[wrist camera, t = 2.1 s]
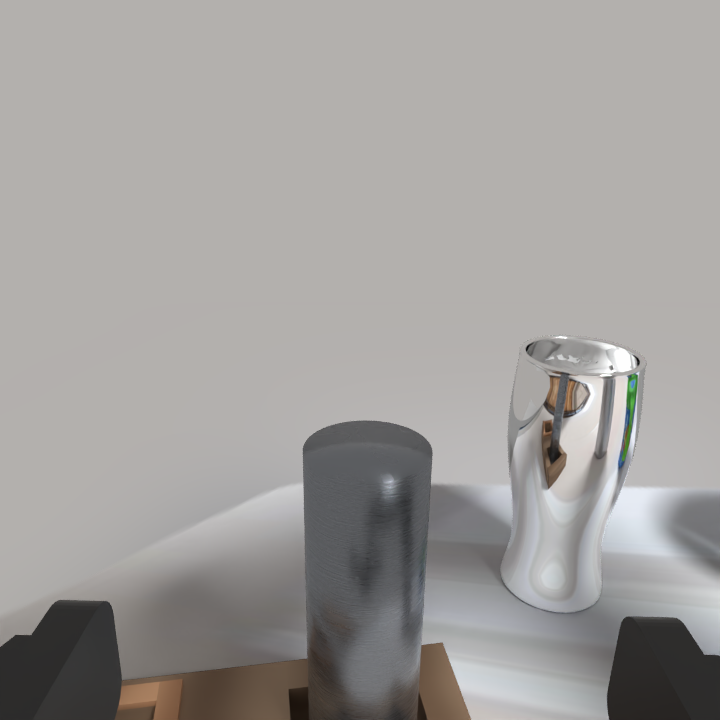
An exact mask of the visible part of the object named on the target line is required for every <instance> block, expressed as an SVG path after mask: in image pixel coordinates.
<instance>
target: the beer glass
mask: <svg viewBox="0 0 720 720" xmlns="http://www.w3.org/2000/svg"><path fill="white" fill-rule="evenodd" d="M645 367H646V360H645V358H644V357H643V356H642V355H641V354H640V353H638V352H637V351H635V350H633V349H631V348H629V347H626V346H624V345H621V344H618V343H614V342H611V341H606V340H602V339H597V338H590V337H583V336H571V335H553V336H542V337H537V338H533V339H530V340H527V341H526V342H524V343H523V344H522V345H521V346H520V354H519V359H518V365H517V370H516V375H515V380H514V385H513V391H512V396H511V403H510V411H509V421H508V462H509V472H510V485H511V495H512V510H513V517H512V530H511V536H510V540H509V543H508V546H507V549H506V551H505V554H504V557H503V559H502V563H501V567H500V572H501V577H502V580H503V582H504V584H505V585H506V587H507V588H508V589H509V590H510V591H511V592H512V593H513V594H514V595H515V596H516V597H518V598H519V599H521V600H522V601H524V602H526V603H527V604H529V605H532V606H534V607H537V608H539V609H543V610H546V611H551V612H559V613H571V612H577V611H581V610H584V609H587V608H589V607H590V606H592V605H593V604H594V603H595V602H596V601H597V600H598V598H599V596H600V594H601V590H602V571H601V548H602V541H603V537H604V533H605V530H606V527H607V524H608V522H609V519H610V516H611V514H612V512H613V509H614V507H615V505H616V502H617V500H618V497H619V495H620V492H621V490H622V487H623V485H624V482H625V480H626V477H627V474H628V471H629V468H630V465H631V462H632V459H633V456H634V451H635V447H636V442H637V438H638V432H639V425H640V419H641V410H642V400H643V388H644V375H645Z"/></svg>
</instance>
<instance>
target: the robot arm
mask: <svg viewBox="0 0 720 720" xmlns="http://www.w3.org/2000/svg"><path fill="white" fill-rule="evenodd" d="M121 685H122V677H121V668H120V661H119V653H118V646H117V638H116V631H115V624H114V616H113V610H112V607H111V605H110V603H109V602H107V601H78V600H59V601H57V602H55V603H54V604H53V605H52V606H51V607H50V609H49V610H48V612H47V613H46V614H45V616H44V617H43V619H42V620H41V622H40V623H39V625H38V626H37V628H36V629H35V631H34V632H33V633H32V635H15V636H14V637H13V638H11V639H10V640H9V641H8V642H6V643H5V644H4V645H3V646H1V647H0V720H114V719H115V716H116V713H117V710H118V706H119V701H120V695H121ZM607 706H608V715H609V720H720V656H719V655H704V654H703V652H702V651H701V649H700V648H699V646H698V645H697V643H696V641H695V640H694V638H693V637H692V635H691V634H690V632H689V631H688V629H687V628H686V626H685V625H684V624H683V623H682V622H681V621H680V620H679V619H677V618H668V617H625V618H624V619H623V621H622V623H621V627H620V631H619V636H618V641H617V646H616V651H615V656H614V661H613V666H612V671H611V676H610V682H609V687H608V693H607Z"/></svg>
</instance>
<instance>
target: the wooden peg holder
mask: <svg viewBox="0 0 720 720" xmlns="http://www.w3.org/2000/svg"><path fill="white" fill-rule="evenodd" d="M114 720H309V702H308V659H301V660H292V661H284V662H275V663H267V664H259V665H250V666H242V667H233V668H225V669H216V670H208V671H200V672H191V673H183V674H174V675H166V676H157V677H149V678H140V679H132V680H124V681H122V685H121V695H120V701H119V706H118V710H117V713H116V716H115V719H114ZM417 720H471V718H470V715H469V713H468V710H467V707H466V705H465V702H464V699H463V697H462V694H461V691H460V689H459V686H458V683H457V681H456V678H455V675H454V672H453V670H452V667H451V664H450V662H449V659H448V656H447V654H446V651H445V648H444V646H443V643H436V644H427V645H421V660H420V677H419V694H418V712H417Z"/></svg>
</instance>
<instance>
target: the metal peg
mask: <svg viewBox="0 0 720 720" xmlns="http://www.w3.org/2000/svg"><path fill="white" fill-rule="evenodd" d="M431 469H432V448H431V445H430V444H429V442H428V441H427V440H426V439H425V438H424V437H423V436H422V435H420V434H419V433H417V432H415V431H413V430H411V429H409V428H406V427H404V426H400V425H397V424H392V423H387V422H380V421H351V422H344V423H339V424H335V425H331V426H328V427H326V428H323V429H321V430H319V431H317V432H316V433H314V434H313V435H311V436H310V437H309V438H308V439H307V441H306V442H305V444H304V446H303V477H304V523H305V568H306V612H307V657H308V702H309V720H417V712H418V694H419V677H420V660H421V642H422V625H423V608H424V590H425V573H426V556H427V538H428V521H429V504H430V486H431Z"/></svg>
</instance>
